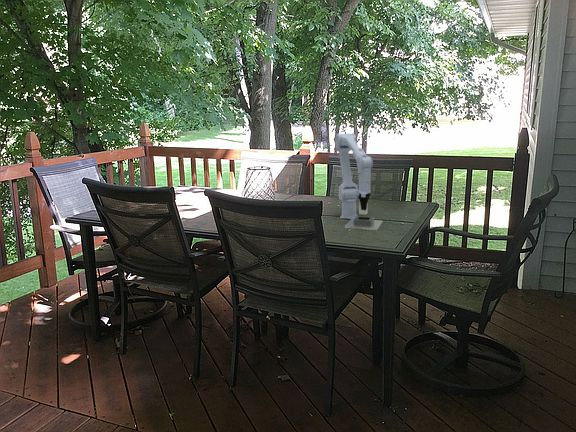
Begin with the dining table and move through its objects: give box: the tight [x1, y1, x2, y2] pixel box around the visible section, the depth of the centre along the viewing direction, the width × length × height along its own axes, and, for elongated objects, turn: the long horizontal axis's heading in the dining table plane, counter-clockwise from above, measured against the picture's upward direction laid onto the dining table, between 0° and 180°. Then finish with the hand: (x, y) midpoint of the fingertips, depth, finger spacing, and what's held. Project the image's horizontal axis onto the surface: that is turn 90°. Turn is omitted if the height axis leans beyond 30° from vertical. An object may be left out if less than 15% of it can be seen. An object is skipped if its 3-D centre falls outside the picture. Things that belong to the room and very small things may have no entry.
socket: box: [344, 215, 383, 231], centre depth 252 cm, size 16×16×4 cm
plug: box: [358, 199, 369, 215], centre depth 250 cm, size 4×4×7 cm
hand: (364, 209), depth 251 cm, fingers closed on plug, 4 cm apart
